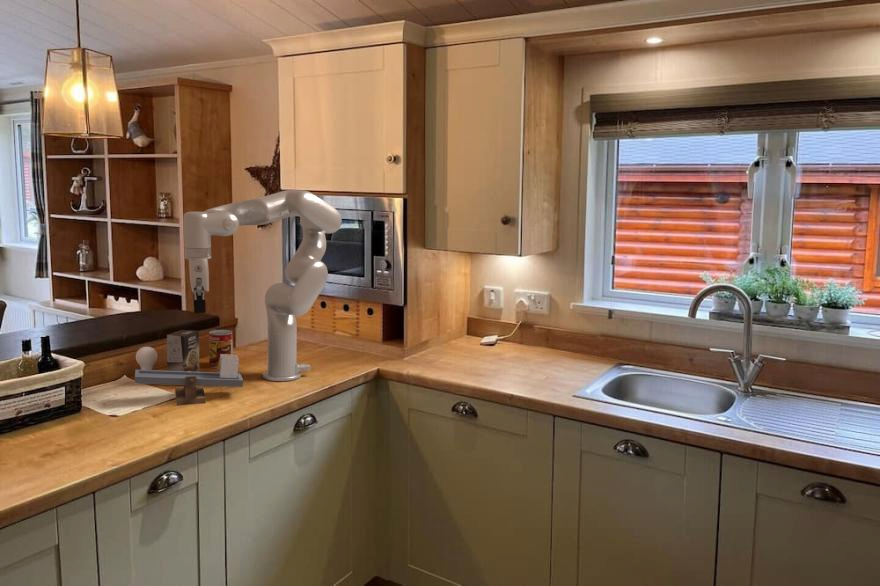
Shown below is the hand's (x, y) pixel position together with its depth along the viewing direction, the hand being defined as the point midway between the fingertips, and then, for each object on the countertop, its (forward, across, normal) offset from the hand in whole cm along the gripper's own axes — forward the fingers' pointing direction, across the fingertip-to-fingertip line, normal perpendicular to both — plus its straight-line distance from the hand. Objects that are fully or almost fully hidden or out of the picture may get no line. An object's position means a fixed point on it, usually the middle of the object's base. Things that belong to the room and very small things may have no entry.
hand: (199, 309), depth 213 cm
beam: (+21, -6, +4) cm, 22 cm away
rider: (+21, -5, -7) cm, 23 cm away
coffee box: (+26, +13, +5) cm, 30 cm away
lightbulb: (+26, +17, +16) cm, 35 cm away
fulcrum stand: (+26, -6, +4) cm, 27 cm away
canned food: (+26, +31, -7) cm, 41 cm away
